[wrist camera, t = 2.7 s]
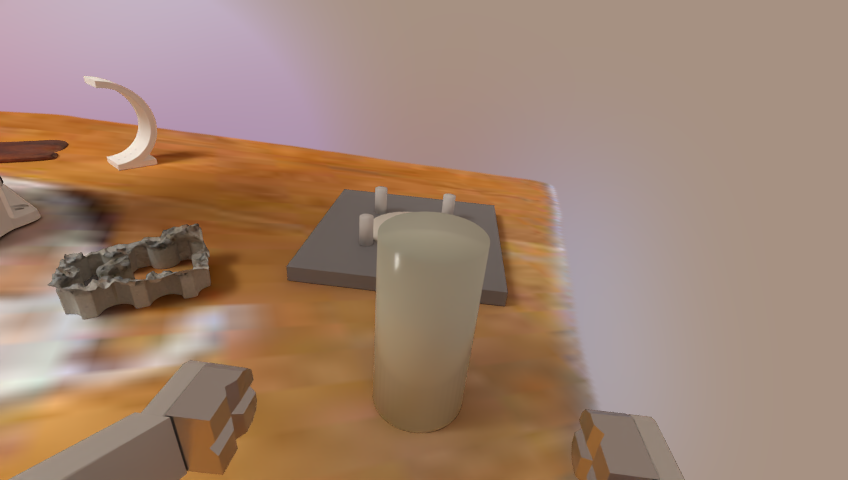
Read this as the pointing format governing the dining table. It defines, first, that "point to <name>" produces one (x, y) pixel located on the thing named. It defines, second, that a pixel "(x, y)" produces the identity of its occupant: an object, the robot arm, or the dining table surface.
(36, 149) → the wooden tablet
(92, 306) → the egg carton
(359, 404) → the dining table surface
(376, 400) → the canister
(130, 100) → the headphone stand
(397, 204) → the peg stand
